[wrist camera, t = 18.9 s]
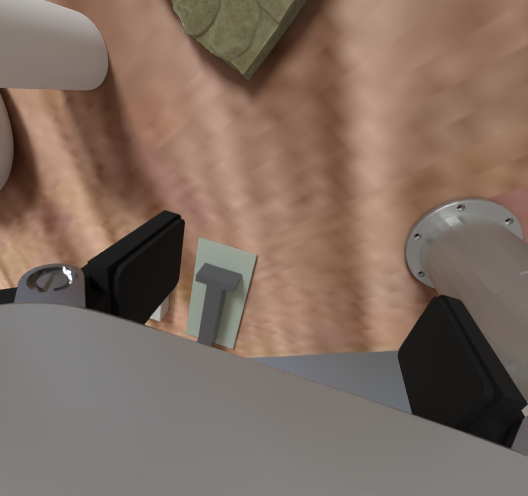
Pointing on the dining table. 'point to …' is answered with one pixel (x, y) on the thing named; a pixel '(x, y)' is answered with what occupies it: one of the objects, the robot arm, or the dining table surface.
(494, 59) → the dining table surface
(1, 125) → the bowl
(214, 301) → the grey t-shaped block
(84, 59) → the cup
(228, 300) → the mat
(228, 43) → the decorative tile
